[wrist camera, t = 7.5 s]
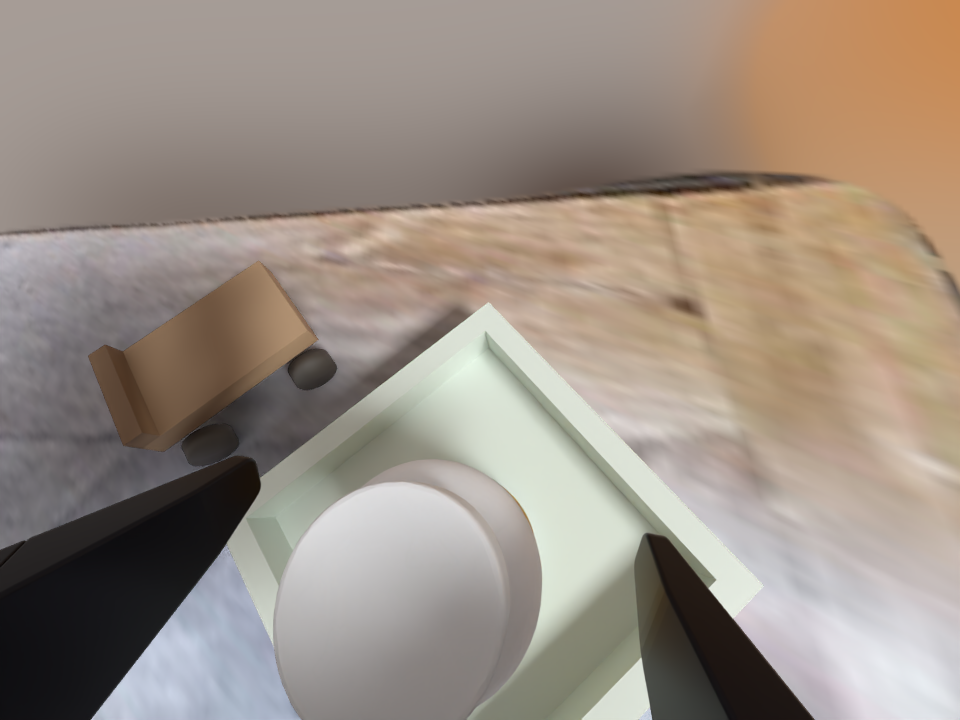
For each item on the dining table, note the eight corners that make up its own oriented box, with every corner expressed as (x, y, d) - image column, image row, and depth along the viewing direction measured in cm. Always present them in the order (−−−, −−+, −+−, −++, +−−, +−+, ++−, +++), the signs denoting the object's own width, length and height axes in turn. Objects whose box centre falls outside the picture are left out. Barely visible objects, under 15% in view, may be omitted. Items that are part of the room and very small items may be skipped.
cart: (208, 470, 18) (129, 462, 15) (161, 371, 20) (83, 343, 17) (346, 367, 19) (306, 335, 16) (287, 284, 22) (240, 240, 18)
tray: (436, 872, 12) (416, 955, 10) (254, 513, 17) (213, 514, 15) (725, 573, 15) (764, 585, 12) (492, 326, 19) (488, 302, 17)
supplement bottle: (524, 469, 16) (524, 422, 7) (546, 619, 14) (585, 819, 5) (400, 484, 16) (248, 457, 7) (404, 632, 14) (203, 844, 5)
